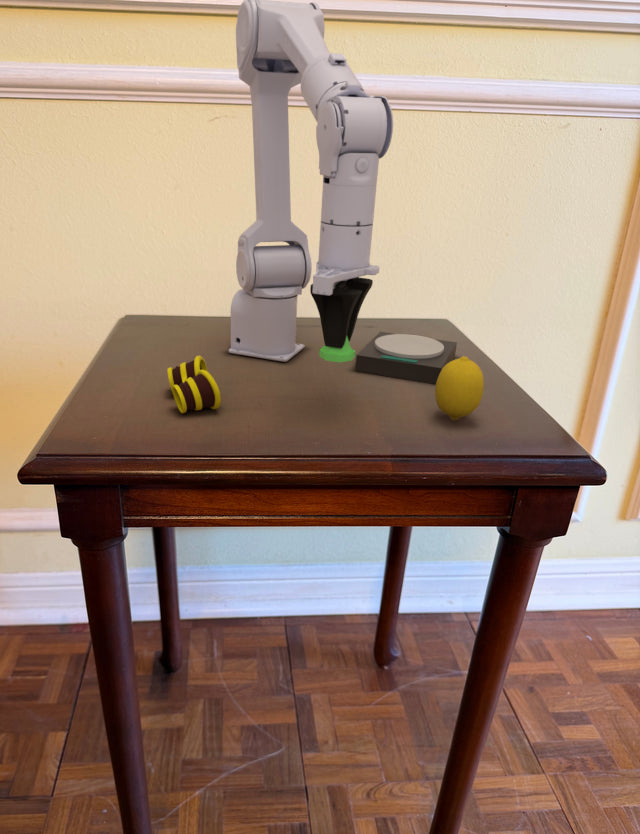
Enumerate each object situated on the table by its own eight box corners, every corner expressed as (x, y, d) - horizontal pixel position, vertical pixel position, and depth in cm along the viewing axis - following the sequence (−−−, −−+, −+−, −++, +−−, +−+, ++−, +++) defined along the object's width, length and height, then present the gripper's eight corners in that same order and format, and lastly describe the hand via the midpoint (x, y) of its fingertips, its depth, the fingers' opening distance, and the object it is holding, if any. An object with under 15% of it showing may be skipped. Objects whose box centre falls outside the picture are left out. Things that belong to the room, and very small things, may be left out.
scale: (355, 371, 97) (356, 350, 96) (378, 346, 108) (380, 327, 107) (438, 384, 94) (442, 363, 92) (454, 357, 104) (457, 338, 103)
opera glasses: (171, 394, 89) (162, 359, 87) (210, 384, 90) (202, 349, 88) (182, 424, 81) (171, 386, 79) (224, 413, 82) (216, 374, 79)
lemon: (478, 431, 80) (490, 366, 76) (430, 426, 81) (440, 361, 77) (476, 413, 85) (487, 351, 81) (431, 409, 86) (440, 347, 82)
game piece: (352, 351, 84) (357, 302, 81) (356, 362, 80) (361, 312, 77) (317, 350, 84) (320, 301, 81) (320, 361, 80) (323, 310, 77)
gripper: (363, 235, 67) (351, 367, 74) (398, 217, 79) (386, 332, 86) (296, 228, 69) (291, 357, 76) (340, 212, 81) (332, 324, 88)
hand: (337, 343), depth 81 cm, fingers closed on game piece, 2 cm apart
